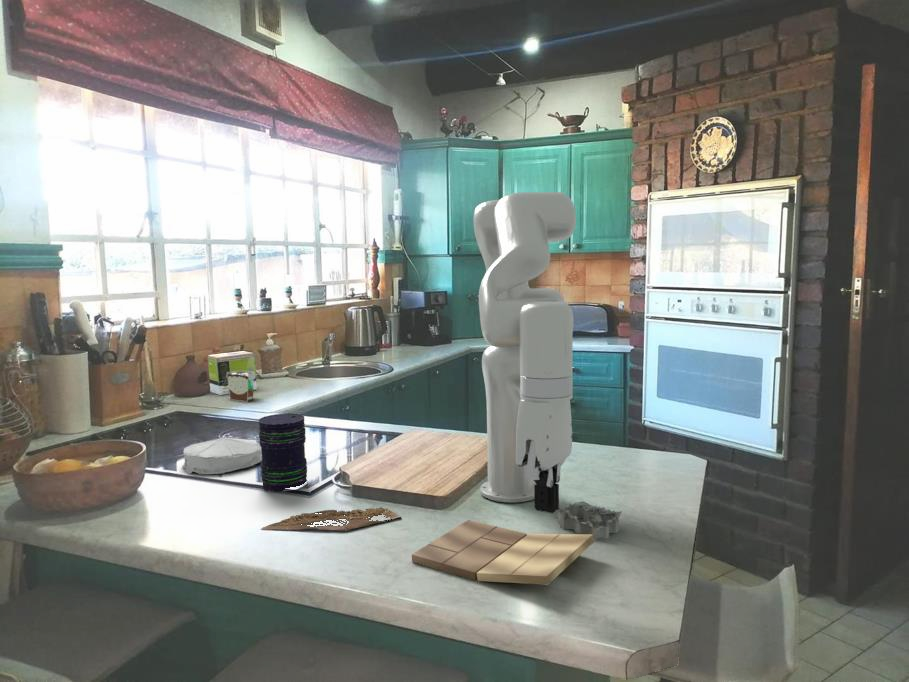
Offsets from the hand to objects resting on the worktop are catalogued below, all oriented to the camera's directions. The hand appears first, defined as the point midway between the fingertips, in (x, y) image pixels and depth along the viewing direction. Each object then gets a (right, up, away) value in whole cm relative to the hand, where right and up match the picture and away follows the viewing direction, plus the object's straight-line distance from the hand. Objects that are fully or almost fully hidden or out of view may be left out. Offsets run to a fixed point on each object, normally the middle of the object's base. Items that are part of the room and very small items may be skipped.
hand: (546, 509), depth 98 cm
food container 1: (-70, -6, +66) cm, 97 cm away
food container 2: (-89, +4, +143) cm, 169 cm away
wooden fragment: (-37, -10, +27) cm, 46 cm away
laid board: (-11, -10, +13) cm, 20 cm away
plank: (0, -10, +6) cm, 11 cm away
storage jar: (-51, -7, +48) cm, 71 cm away
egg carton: (+11, -9, +22) cm, 26 cm away
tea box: (-99, +5, +159) cm, 187 cm away
